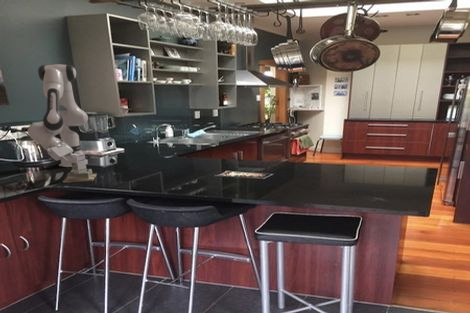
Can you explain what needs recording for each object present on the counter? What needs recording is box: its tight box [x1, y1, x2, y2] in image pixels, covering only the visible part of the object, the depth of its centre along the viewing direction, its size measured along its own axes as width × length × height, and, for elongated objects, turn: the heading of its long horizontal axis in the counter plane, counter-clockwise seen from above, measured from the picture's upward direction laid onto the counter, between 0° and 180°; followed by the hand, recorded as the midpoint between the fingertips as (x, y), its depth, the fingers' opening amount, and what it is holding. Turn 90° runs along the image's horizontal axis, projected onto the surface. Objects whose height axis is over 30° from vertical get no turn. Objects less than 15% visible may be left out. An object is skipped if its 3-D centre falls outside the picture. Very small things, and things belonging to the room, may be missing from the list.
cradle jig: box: [62, 168, 98, 184], centre depth 198 cm, size 14×16×4 cm
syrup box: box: [71, 152, 87, 174], centre depth 197 cm, size 6×6×14 cm
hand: (72, 161), depth 197 cm, fingers open, 8 cm apart
